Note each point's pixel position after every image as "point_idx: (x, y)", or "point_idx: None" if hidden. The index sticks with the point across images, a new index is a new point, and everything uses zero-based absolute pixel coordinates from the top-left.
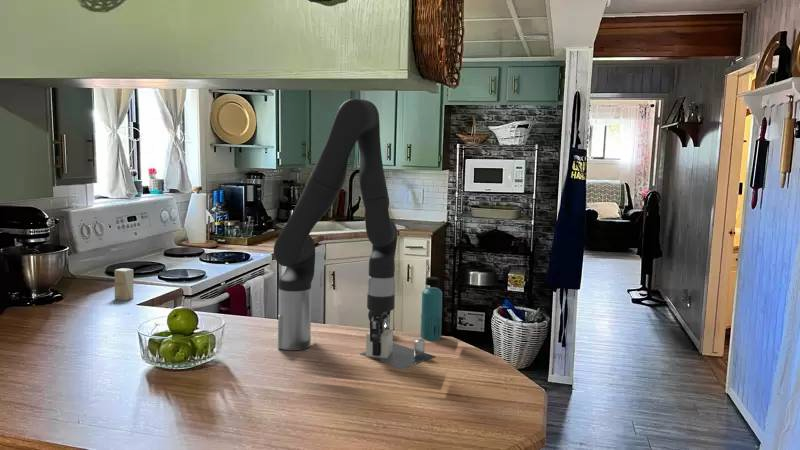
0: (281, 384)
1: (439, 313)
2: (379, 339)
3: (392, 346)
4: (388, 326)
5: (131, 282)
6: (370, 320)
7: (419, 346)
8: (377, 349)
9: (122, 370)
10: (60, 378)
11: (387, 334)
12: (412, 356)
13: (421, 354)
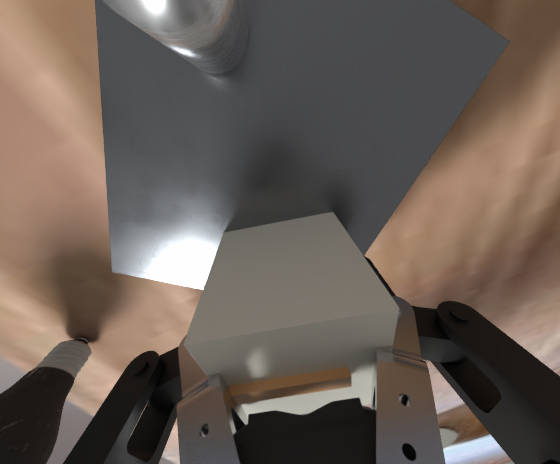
0: (532, 343)
1: None
2: (468, 320)
3: (161, 257)
4: (195, 400)
5: None
6: (56, 436)
7: None
8: (377, 275)
9: (457, 452)
10: (482, 459)
11: (349, 326)
12: (236, 81)
13: None
